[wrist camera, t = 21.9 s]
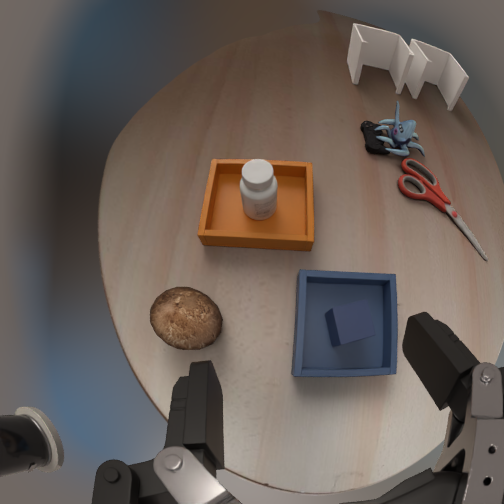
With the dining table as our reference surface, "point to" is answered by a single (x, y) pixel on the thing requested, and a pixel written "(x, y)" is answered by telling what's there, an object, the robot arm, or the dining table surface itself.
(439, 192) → the scissors
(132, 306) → the dining table surface
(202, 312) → the mushroom
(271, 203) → the pill bottle
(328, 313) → the blue block
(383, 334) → the blue tray
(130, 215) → the dining table surface
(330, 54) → the dining table surface
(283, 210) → the amber tray
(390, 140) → the figurine
